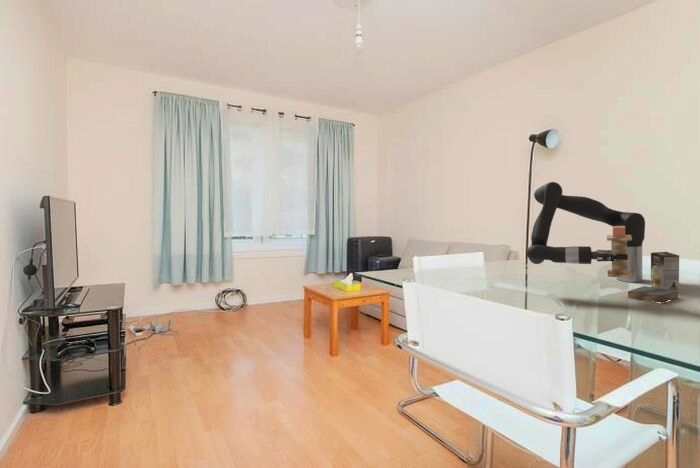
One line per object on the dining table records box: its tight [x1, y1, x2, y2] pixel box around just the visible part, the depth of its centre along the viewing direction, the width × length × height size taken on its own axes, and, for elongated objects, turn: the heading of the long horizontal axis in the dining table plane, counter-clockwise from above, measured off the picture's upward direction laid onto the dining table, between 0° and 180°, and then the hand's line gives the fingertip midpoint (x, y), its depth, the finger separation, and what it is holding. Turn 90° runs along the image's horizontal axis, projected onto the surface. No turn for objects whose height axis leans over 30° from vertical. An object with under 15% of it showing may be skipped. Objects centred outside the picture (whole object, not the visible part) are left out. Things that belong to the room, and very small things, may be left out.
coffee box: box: [650, 251, 680, 293], centre depth 160 cm, size 9×6×16 cm
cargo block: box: [612, 226, 625, 237], centre depth 148 cm, size 4×4×4 cm
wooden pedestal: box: [606, 234, 632, 278], centre depth 149 cm, size 8×8×16 cm
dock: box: [627, 285, 679, 303], centre depth 151 cm, size 12×12×3 cm
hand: (627, 255), depth 148 cm, fingers closed on wooden pedestal, 5 cm apart
